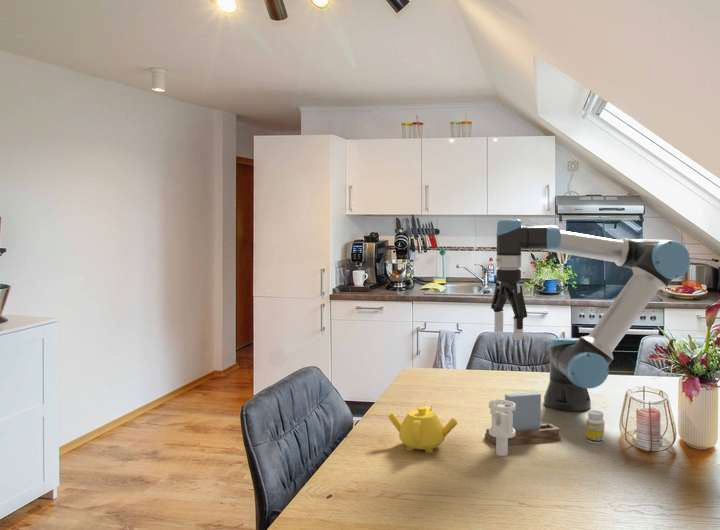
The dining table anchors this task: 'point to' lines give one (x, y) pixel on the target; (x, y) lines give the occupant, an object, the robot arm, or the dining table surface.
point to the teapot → (422, 429)
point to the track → (531, 435)
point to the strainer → (502, 424)
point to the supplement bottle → (595, 427)
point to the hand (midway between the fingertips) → (508, 335)
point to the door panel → (526, 410)
